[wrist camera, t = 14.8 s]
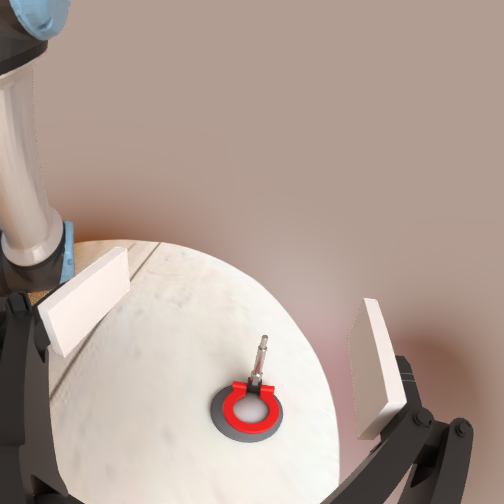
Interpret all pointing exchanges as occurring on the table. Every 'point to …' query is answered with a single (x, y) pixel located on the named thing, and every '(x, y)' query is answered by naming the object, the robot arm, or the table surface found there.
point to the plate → (243, 415)
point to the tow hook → (253, 387)
